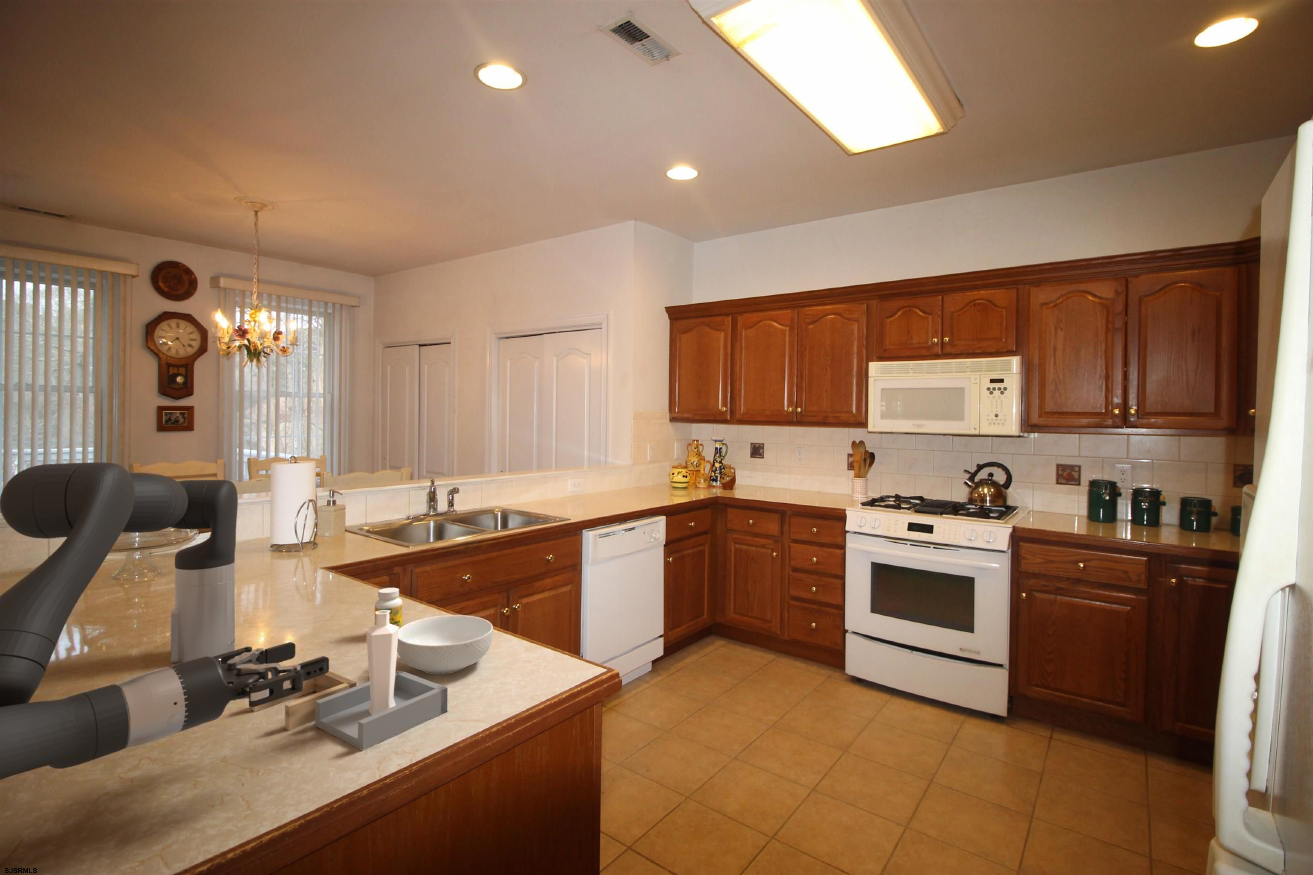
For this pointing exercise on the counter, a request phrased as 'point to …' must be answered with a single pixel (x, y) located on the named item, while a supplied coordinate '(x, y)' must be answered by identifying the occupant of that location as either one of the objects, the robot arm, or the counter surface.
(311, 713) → the oak holder
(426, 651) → the cereal bowl
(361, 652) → the counter surface
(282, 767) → the counter surface
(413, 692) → the grey tray
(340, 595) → the counter surface
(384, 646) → the white faceted bottle
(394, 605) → the supplement bottle
